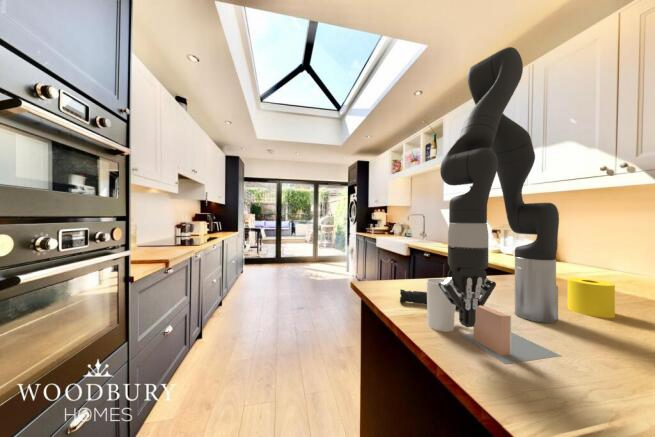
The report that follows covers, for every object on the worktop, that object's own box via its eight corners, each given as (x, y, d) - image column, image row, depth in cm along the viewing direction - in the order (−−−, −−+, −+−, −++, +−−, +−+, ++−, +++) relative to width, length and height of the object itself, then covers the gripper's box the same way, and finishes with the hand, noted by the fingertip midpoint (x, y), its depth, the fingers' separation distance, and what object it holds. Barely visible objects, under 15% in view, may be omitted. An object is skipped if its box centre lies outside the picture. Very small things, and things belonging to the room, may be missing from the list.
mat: (506, 331, 62) (506, 329, 62) (561, 357, 50) (561, 355, 50) (459, 336, 59) (458, 335, 59) (505, 366, 47) (505, 363, 47)
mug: (443, 335, 59) (444, 286, 59) (420, 325, 65) (421, 280, 65) (468, 327, 64) (468, 281, 64) (445, 318, 70) (445, 276, 70)
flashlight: (470, 313, 75) (470, 296, 75) (399, 305, 81) (400, 290, 81) (466, 307, 79) (466, 292, 79) (400, 300, 86) (400, 286, 86)
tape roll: (625, 318, 71) (625, 285, 71) (590, 317, 71) (590, 285, 71) (589, 306, 81) (589, 277, 81) (558, 305, 81) (558, 277, 81)
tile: (482, 338, 57) (482, 304, 57) (511, 354, 50) (511, 315, 50) (473, 339, 56) (473, 304, 57) (501, 355, 50) (501, 316, 50)
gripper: (478, 242, 57) (478, 316, 57) (429, 243, 54) (428, 321, 54) (509, 245, 50) (508, 330, 50) (453, 246, 47) (453, 336, 47)
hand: (467, 325), depth 52 cm, fingers closed
